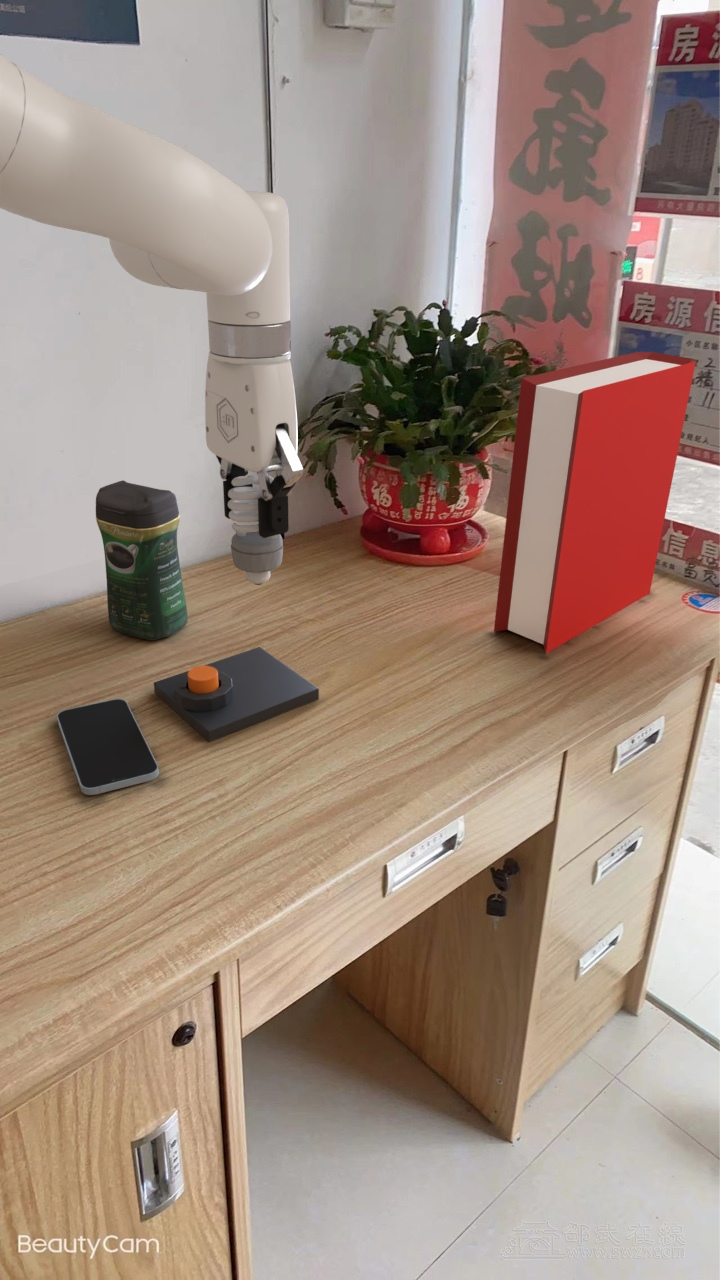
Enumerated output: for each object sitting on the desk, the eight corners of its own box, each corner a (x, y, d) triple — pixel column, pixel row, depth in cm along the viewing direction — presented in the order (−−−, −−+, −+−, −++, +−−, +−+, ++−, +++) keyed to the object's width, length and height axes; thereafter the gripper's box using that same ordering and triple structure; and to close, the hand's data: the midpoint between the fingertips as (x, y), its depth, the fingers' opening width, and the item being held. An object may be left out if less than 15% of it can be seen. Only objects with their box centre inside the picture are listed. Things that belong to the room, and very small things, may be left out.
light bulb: (288, 575, 96) (286, 467, 90) (281, 597, 91) (279, 484, 85) (236, 572, 96) (231, 465, 90) (227, 594, 91) (221, 482, 85)
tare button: (198, 698, 93) (197, 683, 92) (183, 685, 95) (182, 671, 94) (224, 688, 95) (223, 674, 94) (209, 676, 97) (208, 662, 96)
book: (545, 653, 109) (583, 390, 94) (493, 631, 114) (521, 378, 99) (654, 590, 126) (701, 360, 111) (605, 573, 131) (643, 350, 116)
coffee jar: (198, 623, 114) (189, 484, 105) (157, 648, 108) (143, 503, 99) (141, 605, 118) (127, 470, 109) (98, 629, 112) (80, 487, 103)
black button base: (208, 742, 90) (207, 718, 89) (154, 693, 98) (151, 670, 97) (319, 699, 98) (319, 675, 97) (259, 656, 106) (259, 634, 105)
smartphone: (125, 696, 96) (161, 771, 84) (125, 703, 96) (162, 779, 85) (54, 711, 93) (82, 791, 81) (55, 719, 93) (83, 799, 82)
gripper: (169, 330, 85) (182, 508, 94) (267, 360, 74) (272, 560, 82) (235, 324, 89) (242, 495, 98) (338, 351, 78) (336, 542, 86)
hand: (256, 523), depth 90 cm, fingers closed on light bulb, 5 cm apart
